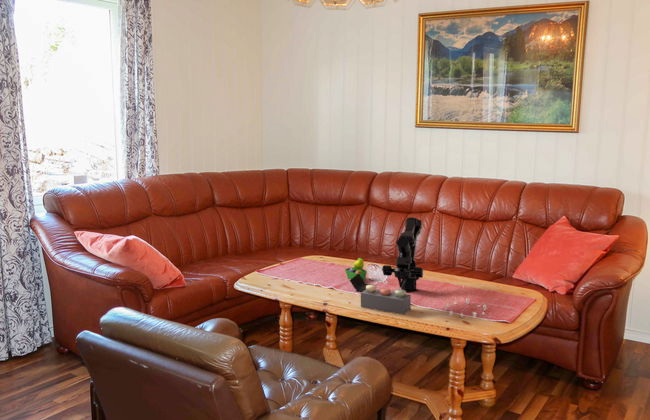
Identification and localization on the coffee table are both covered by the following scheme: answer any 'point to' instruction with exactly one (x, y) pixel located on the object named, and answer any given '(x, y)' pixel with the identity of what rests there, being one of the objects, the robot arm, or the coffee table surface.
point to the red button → (385, 291)
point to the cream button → (371, 288)
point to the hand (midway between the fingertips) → (400, 287)
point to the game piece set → (467, 303)
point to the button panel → (386, 302)
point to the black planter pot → (359, 283)
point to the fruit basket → (356, 270)
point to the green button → (400, 293)
